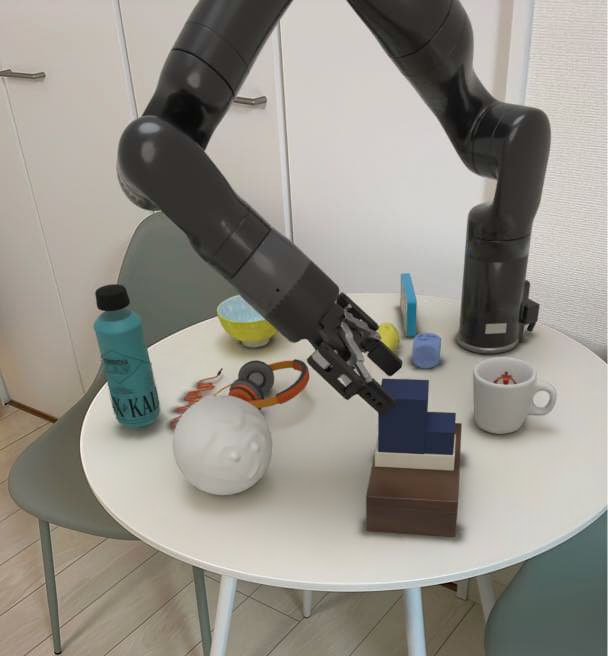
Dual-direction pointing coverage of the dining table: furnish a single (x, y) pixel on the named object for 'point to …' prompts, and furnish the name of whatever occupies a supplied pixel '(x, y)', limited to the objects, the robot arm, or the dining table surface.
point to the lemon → (389, 335)
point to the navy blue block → (414, 430)
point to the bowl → (244, 322)
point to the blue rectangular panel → (408, 305)
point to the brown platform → (414, 498)
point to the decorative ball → (222, 445)
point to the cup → (507, 394)
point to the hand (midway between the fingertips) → (393, 388)
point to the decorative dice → (426, 350)
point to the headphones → (257, 384)
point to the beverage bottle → (125, 358)
